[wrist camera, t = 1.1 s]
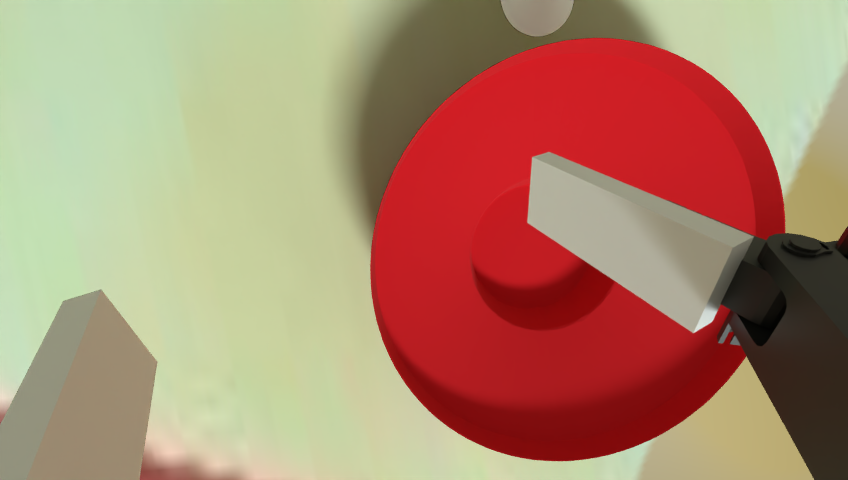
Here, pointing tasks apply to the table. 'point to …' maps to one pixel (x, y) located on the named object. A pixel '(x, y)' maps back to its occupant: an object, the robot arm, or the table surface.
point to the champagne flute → (537, 15)
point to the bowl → (559, 249)
